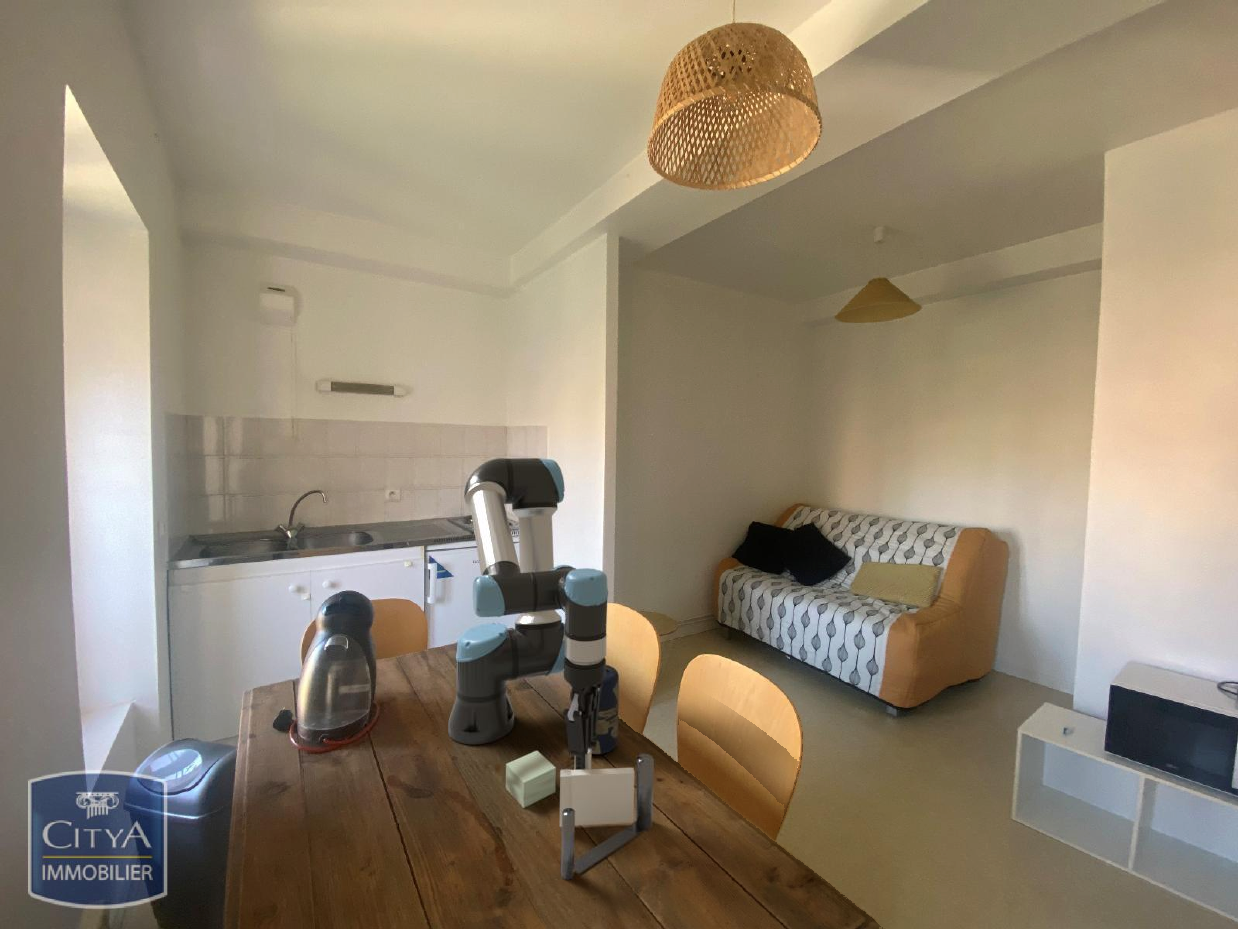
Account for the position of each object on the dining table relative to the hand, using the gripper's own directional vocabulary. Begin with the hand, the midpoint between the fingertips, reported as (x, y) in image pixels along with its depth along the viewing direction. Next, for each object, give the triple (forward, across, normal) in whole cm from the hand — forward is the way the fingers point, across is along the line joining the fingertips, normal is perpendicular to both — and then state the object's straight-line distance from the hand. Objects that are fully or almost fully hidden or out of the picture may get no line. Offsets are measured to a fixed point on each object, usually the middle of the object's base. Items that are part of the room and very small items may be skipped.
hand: (582, 784), depth 91 cm
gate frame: (+6, +5, +7) cm, 11 cm away
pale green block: (+6, -3, -12) cm, 14 cm away
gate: (+5, +2, +4) cm, 6 cm away
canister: (+6, -21, -5) cm, 23 cm away
